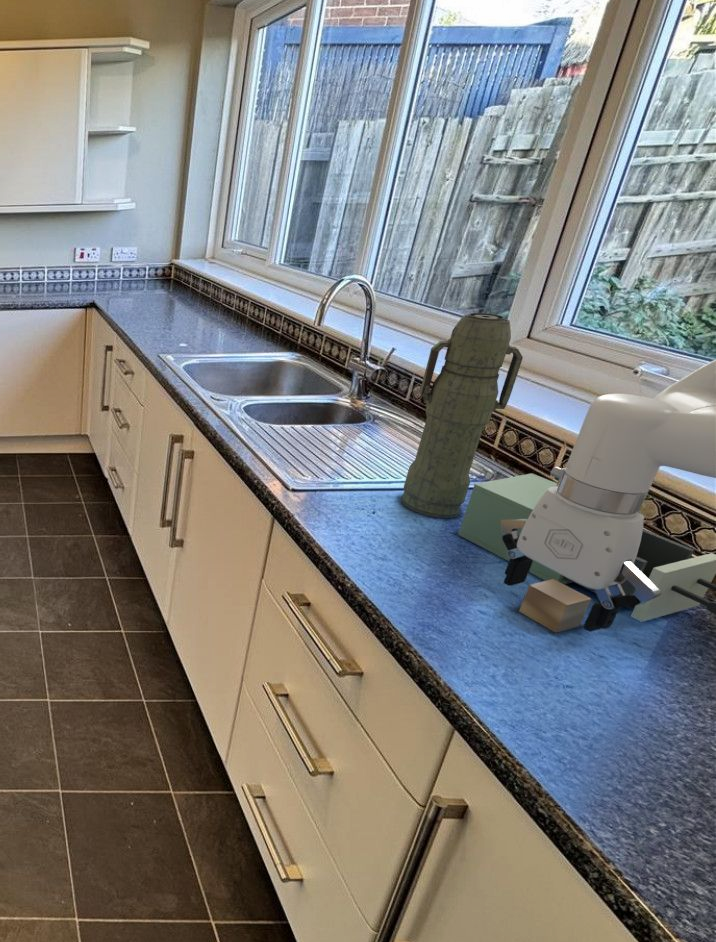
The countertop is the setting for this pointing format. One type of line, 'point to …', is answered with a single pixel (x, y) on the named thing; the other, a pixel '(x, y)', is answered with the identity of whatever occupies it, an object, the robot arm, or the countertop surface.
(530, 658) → the countertop surface
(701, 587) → the pull-out drawer
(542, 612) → the block
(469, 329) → the thermos
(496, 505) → the sage drawer box
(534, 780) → the countertop surface
